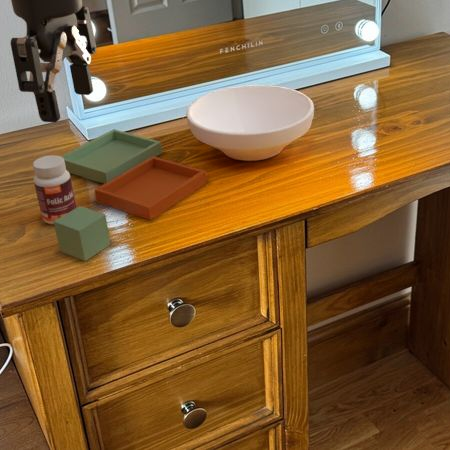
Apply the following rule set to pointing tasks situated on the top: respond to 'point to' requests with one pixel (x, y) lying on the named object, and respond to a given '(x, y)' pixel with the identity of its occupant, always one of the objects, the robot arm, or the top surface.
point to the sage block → (82, 233)
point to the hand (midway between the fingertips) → (68, 106)
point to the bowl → (250, 120)
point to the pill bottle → (53, 187)
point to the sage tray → (110, 155)
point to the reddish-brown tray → (151, 187)
